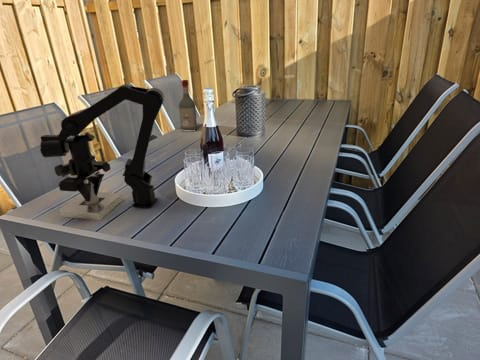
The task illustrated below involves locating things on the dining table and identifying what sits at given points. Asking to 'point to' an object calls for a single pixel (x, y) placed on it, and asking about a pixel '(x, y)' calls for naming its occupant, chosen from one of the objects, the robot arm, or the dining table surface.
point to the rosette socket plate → (97, 212)
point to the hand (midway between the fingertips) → (91, 198)
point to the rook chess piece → (92, 198)
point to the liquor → (187, 109)
